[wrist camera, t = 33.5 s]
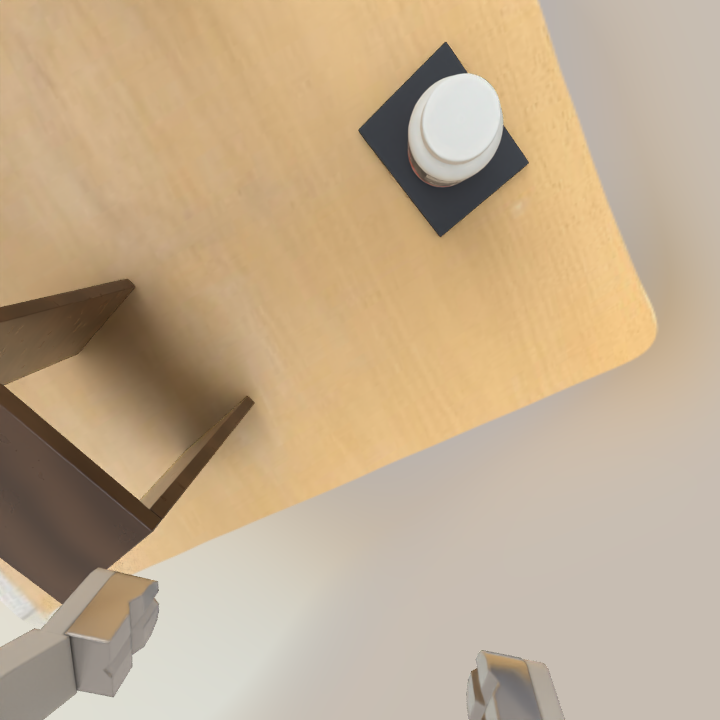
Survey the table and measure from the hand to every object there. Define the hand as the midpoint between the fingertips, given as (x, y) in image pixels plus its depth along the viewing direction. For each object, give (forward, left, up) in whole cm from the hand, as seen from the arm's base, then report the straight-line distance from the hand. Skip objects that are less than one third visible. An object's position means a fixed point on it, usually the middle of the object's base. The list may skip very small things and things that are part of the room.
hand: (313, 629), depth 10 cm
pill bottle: (-8, +13, -27) cm, 31 cm away
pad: (-8, +13, -27) cm, 31 cm away
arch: (-10, -19, -27) cm, 35 cm away
